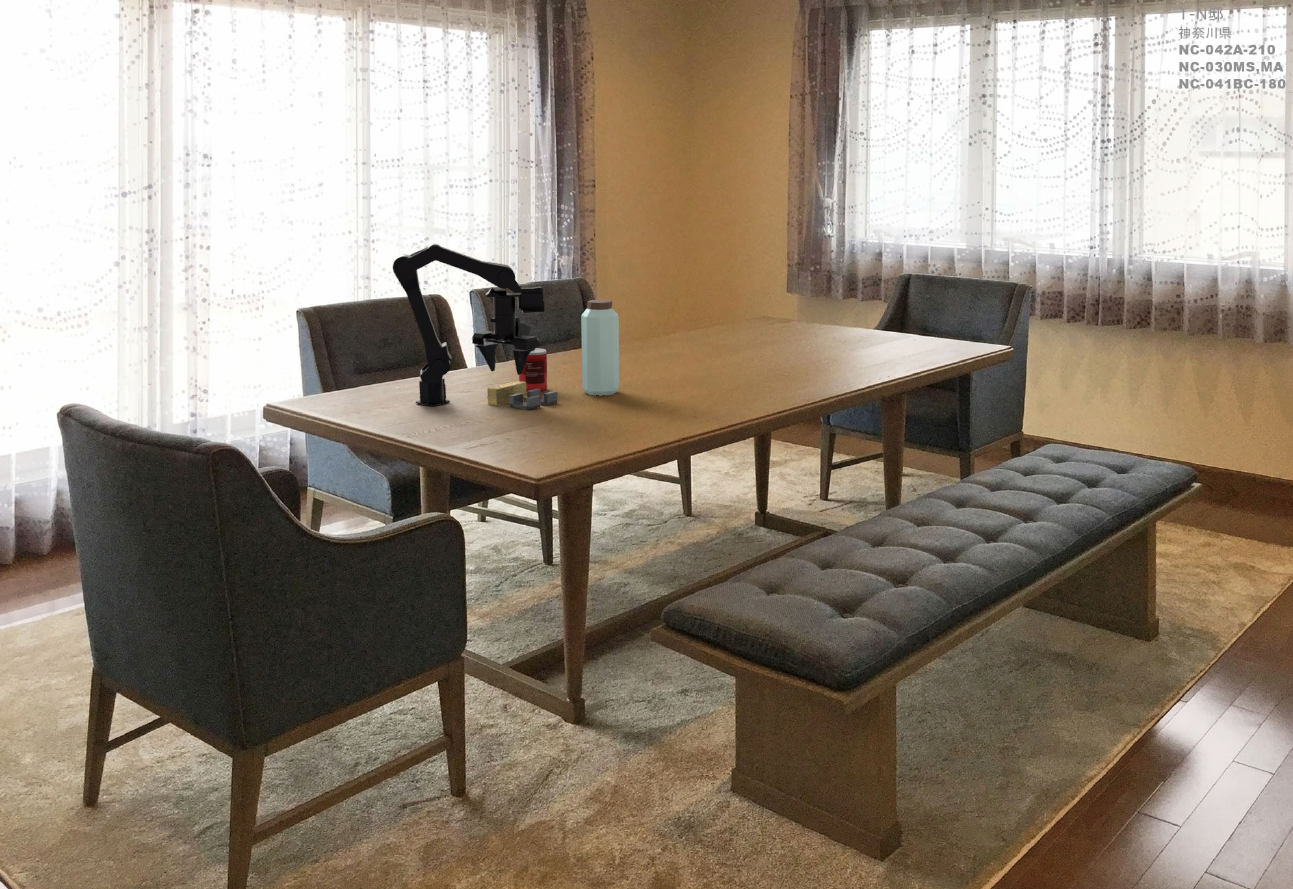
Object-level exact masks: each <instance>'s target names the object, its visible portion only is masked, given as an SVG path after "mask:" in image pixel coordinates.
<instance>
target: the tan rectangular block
mask: <svg viewBox="0 0 1293 889" xmlns="http://www.w3.org/2000/svg"><path fill="white" fill-rule="evenodd" d="M517 393H523V400H525V399H526V398H527V392H526V382H522V381H519V380H516V381H511V382H508V383H503V384H500V385H493V386H490V387H487V404H488V405H491V406H496V407H497V406H500V405H504V404H508V403H509V395H513V394H517ZM509 404H510V403H509Z"/></svg>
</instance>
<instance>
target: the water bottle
mask: <svg viewBox="0 0 1293 889" xmlns="http://www.w3.org/2000/svg"><path fill="white" fill-rule="evenodd" d="M619 320H620V318H619V314H618V313H617V312H616V311H615V310H614V308H613V301H612V300H610V299H590V300H588V301H587V303H586V309H585V310H584V312H583V313H582V314H581V320H580V321H581V323H580V324H581V325H580V326H581V379H582V380H581V381H582V382H581V383H582V390H583V391H584V393H586V394H587V395H589V396H596V395H599V397H603V396H602V395H605V396H612V395H615V394H616V393H617V392H618V391H619V389H620V342H619V341H620V333H619V332H620V324H619V322H620V321H619Z"/></svg>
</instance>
